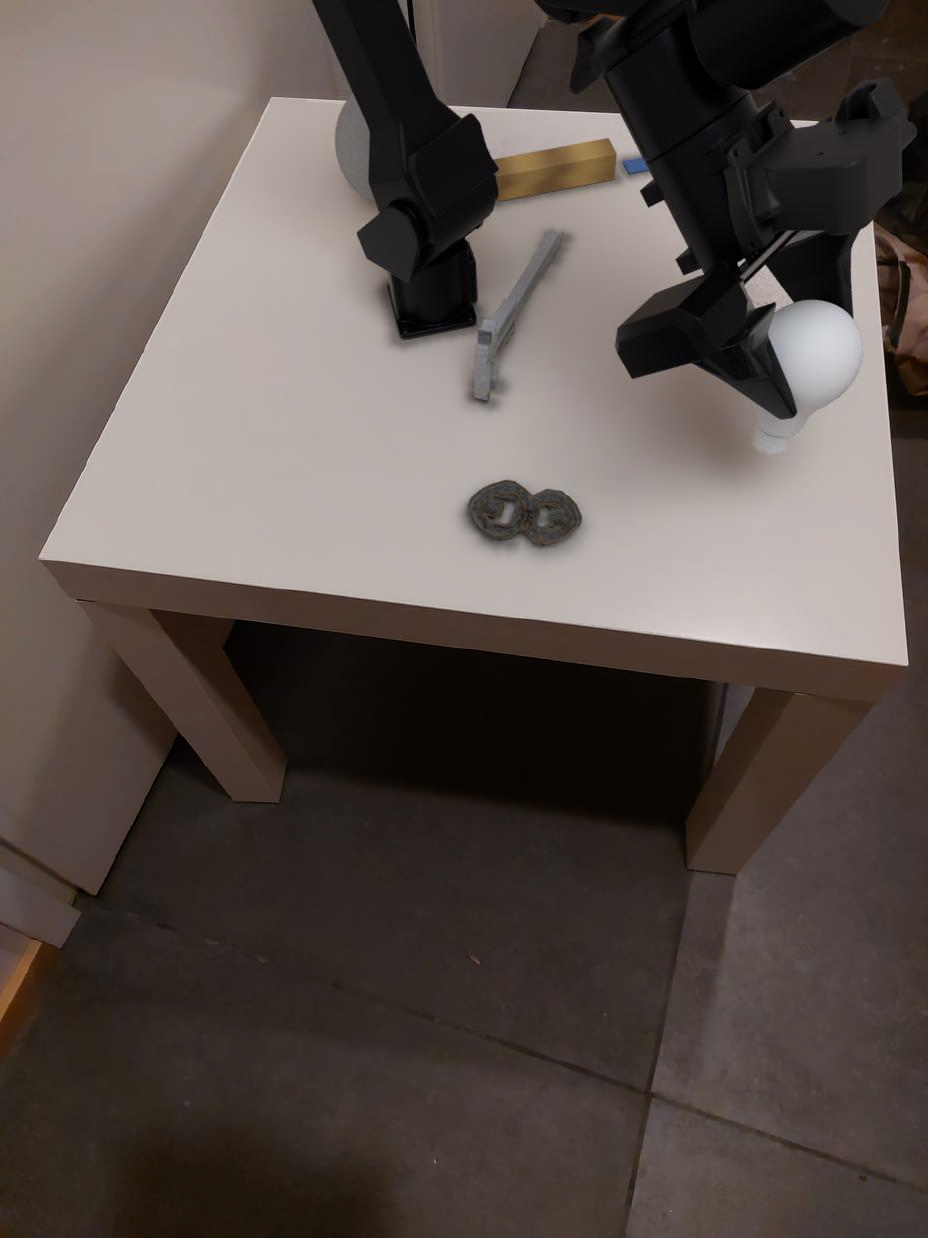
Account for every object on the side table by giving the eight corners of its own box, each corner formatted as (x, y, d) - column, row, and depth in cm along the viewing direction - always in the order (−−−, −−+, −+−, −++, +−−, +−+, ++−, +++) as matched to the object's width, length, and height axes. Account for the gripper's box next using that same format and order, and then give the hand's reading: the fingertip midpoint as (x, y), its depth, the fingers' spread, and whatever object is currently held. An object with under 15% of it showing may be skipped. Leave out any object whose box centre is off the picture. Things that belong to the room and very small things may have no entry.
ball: (340, 172, 80) (319, 60, 71) (444, 156, 80) (436, 43, 72) (351, 240, 75) (330, 129, 67) (461, 223, 76) (455, 111, 67)
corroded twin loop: (573, 559, 58) (574, 550, 57) (460, 538, 59) (460, 529, 58) (587, 501, 60) (588, 492, 59) (478, 482, 62) (477, 473, 61)
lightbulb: (699, 442, 56) (740, 309, 46) (764, 397, 57) (816, 260, 48) (769, 500, 53) (827, 373, 44) (834, 452, 55) (905, 319, 45)
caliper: (487, 406, 65) (485, 344, 60) (474, 403, 65) (471, 341, 60) (563, 237, 74) (567, 169, 69) (551, 235, 74) (554, 167, 69)
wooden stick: (497, 201, 77) (497, 176, 75) (491, 185, 78) (490, 159, 76) (614, 179, 77) (617, 153, 75) (606, 163, 79) (608, 137, 76)
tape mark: (628, 174, 78) (629, 172, 78) (622, 162, 79) (623, 160, 78) (691, 162, 78) (691, 160, 78) (684, 151, 79) (685, 148, 79)
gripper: (710, 153, 33) (862, 472, 39) (938, -45, 39) (1039, 257, 45) (545, 243, 43) (687, 488, 49) (748, 73, 49) (852, 309, 55)
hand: (818, 385), depth 49 cm, fingers closed on lightbulb, 6 cm apart
